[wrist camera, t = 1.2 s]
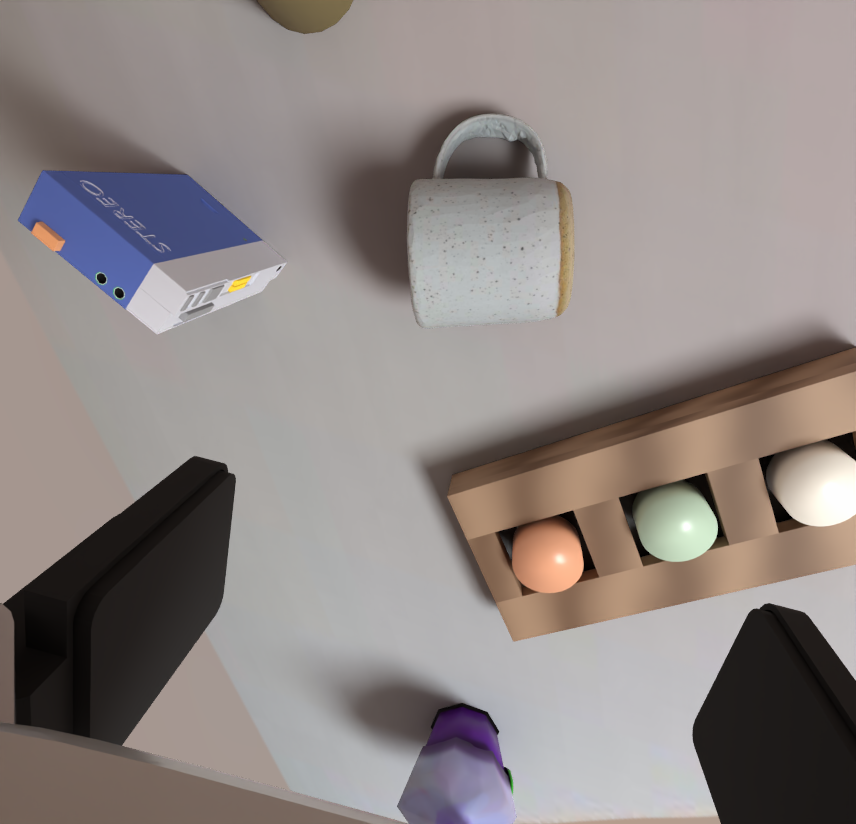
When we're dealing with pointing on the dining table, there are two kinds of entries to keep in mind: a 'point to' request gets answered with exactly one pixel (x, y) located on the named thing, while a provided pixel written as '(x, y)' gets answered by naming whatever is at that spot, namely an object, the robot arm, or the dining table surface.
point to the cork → (306, 13)
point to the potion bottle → (460, 773)
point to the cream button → (814, 483)
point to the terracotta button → (547, 555)
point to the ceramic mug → (489, 239)
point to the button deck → (654, 466)
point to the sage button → (674, 521)
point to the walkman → (150, 242)
